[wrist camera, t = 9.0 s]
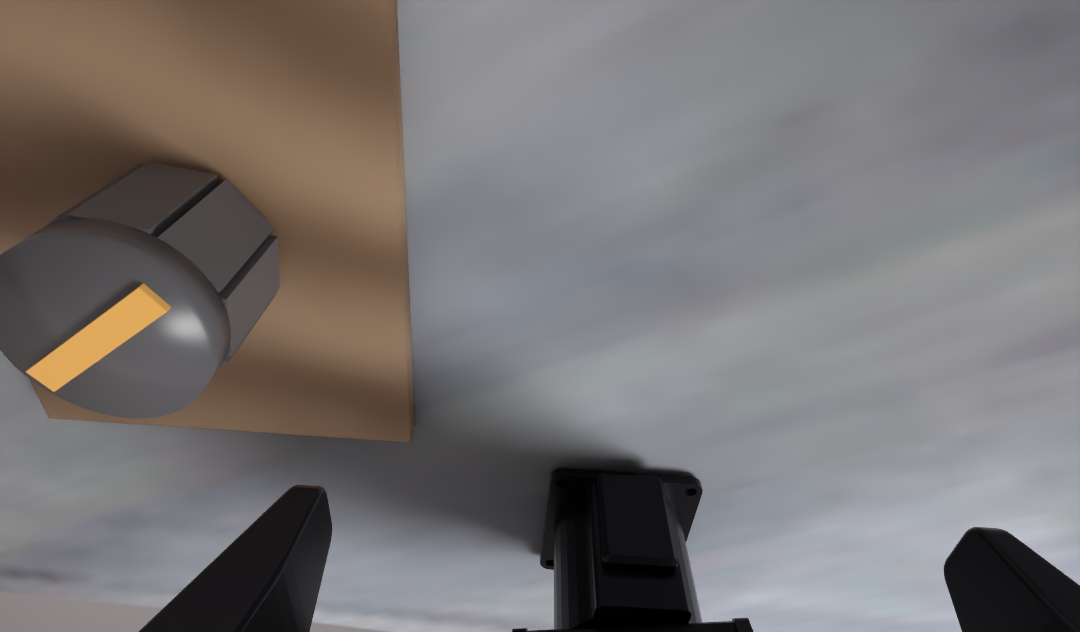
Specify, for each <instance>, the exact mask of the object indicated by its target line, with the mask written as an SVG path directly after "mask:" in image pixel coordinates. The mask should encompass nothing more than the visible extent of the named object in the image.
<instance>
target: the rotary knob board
mask: <svg viewBox="0 0 1080 632" xmlns="http://www.w3.org/2000/svg"><path fill="white" fill-rule="evenodd" d="M149 161H150V162H155V163H160V164H165V165H171V166H176V167H181V168H187V169H192V170H197V171H202V172H208V173H213V174H217V180H218V185H219V184H221V183H222V182H223V181H225V180H227V181H228V182H229V183H230V184H231V185H232V186H233V187H234V188H235V189H236V190H237V191H238V192H239V193H240V194H241V195H242V196H243V197H244V198H245V199H246V200H247V201H248V202H249V203H250V204H251V205H252V206H253V207H254V208H255V209H256V210H257V211H258V212H259V213H260V214H261V215H262V216H263V217H264V218H265V219H266V220H267V221H268V223H269V224H270V225H271V226H272V227H273V228H274V229H273V231H272V232H271V233H270V234H269V235H273V236H278V248H279V276H280V288H279V290H278V291H277V294H276V296H275V297H274V298H273V300H272V301H271V303H270V304H269V306H268V307H267V308H266V310H265V311H264V313H263V314H262V316H261V317H260V318H259V320H258V321H257V323H256V324H255V325H254V327H253V328H252V330H251V331H250V333H249V334H248V335H247V337H246V338H245V340H244V341H243V343H242V344H241V345H240V347H239V348H238V350H237V351H236V353H235V354H234V355H233V357H232V358H231V360H230V361H229V363H227V364H226V365H224V366H223V367H221V368H219V369H218V371H217V372H216V374H215V375H214V376H213V378H212V379H211V381H210V382H209V383H208V385H207V386H206V388H205V389H204V390H203V392H202V393H201V394H200V395H199V397H198V398H197V399H196V400H195V401H194V402H192V403H191V404H190V405H188V406H187V407H185V408H183V409H181V410H179V411H177V412H175V413H172V414H169V415H165V416H160V417H155V418H144V419H143V418H123V417H115V416H110V415H105V414H101V413H97V412H94V411H90V410H87V409H85V408H82V407H79V406H76V405H74V404H72V403H70V402H67V401H65V400H63V399H61V398H59V397H57V396H56V395H54V394H52V393H50V392H48V391H47V390H45V389H44V388H42V387H41V386H39V385H38V384H36V383H35V382H34V381H32V380H31V379H30V378H29V379H30V381H31V383H32V385H33V387H34V389H35V391H36V393H37V395H38V397H39V399H40V401H41V403H42V406H43V408H44V410H45V412H46V414H47V416H48V418H55V419H70V420H85V421H100V422H114V423H129V424H144V425H159V426H174V427H189V428H204V429H218V430H233V431H248V432H263V433H278V434H293V435H307V436H322V437H337V438H352V439H367V440H382V441H397V442H411V439H412V435H413V431H414V427H415V411H414V388H413V365H412V342H411V319H410V296H409V273H408V250H407V228H406V205H405V182H404V159H403V136H402V113H401V90H400V67H399V44H398V21H397V0H0V255H1V254H2V253H4V252H5V251H7V250H8V249H10V248H11V247H13V246H14V245H16V244H17V243H19V242H21V241H22V240H24V239H25V238H27V237H28V236H30V235H32V234H33V233H35V232H36V231H38V230H39V229H41V228H43V227H45V226H47V225H48V224H49V223H50V222H51V221H52V220H54V219H55V218H56V217H57V216H59V215H60V214H62V213H63V212H65V211H67V210H68V209H70V208H71V207H73V206H74V205H76V204H78V203H79V202H81V201H82V200H84V199H85V198H87V197H89V196H90V195H92V194H93V193H95V192H96V191H98V190H100V189H101V188H103V187H104V186H106V185H107V184H109V183H111V182H112V181H114V180H115V179H117V178H119V177H120V176H122V175H123V174H125V173H126V172H128V171H130V170H131V169H133V168H134V167H136V166H137V165H139V164H142V165H145V164H146V163H148V162H149Z"/></svg>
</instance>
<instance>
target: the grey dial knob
mask: <svg viewBox="0 0 1080 632" xmlns="http://www.w3.org/2000/svg"><path fill="white" fill-rule="evenodd" d="M273 229H274V228H273V227H272V226H271V225H270V224H269V223H268V221H267V220H266V219H265V218H264V217H263V216H262V215H261V214H260V213H259V212H258V211H257V210H256V209H255V208H254V207H253V206H252V205H251V204H250V203H249V202H248V201H247V200H246V199H245V198H244V197H243V196H242V195H241V194H240V193H239V192H238V191H237V190H236V189H235V188H234V187H233V186H232V185H231V184H230V183H229V182H228V181H227V180H225V181H223V182H222V183H221V184H219V185H218V180H217V174H213V173H208V172H202V171H197V170H192V169H187V168H181V167H176V166H171V165H165V164H160V163H155V162H150V161H149V162H148V163H146V164H145V165H142V164H139V165H137V166H136V167H134V168H133V169H131V170H130V171H128V172H126V173H125V174H123V175H122V176H120V177H119V178H117V179H115V180H114V181H112V182H111V183H109V184H107V185H106V186H104V187H103V188H101V189H100V190H98V191H96V192H95V193H93V194H92V195H90V196H89V197H87V198H85V199H84V200H82V201H81V202H79V203H78V204H76V205H74V206H73V207H71V208H70V209H68V210H67V211H65V212H63V213H62V214H60V215H59V216H57V217H56V218H55V219H54V220H52V221H51V222H50V223H49V224H48V225H47V226H45V227H43V228H41V229H39V230H38V231H36V232H35V233H33V234H32V235H30V236H28V237H27V238H25V239H24V240H22V241H21V242H19V243H17V244H16V245H14V246H13V247H11V248H10V249H8V250H7V251H5V252H4V253H2V254H1V255H0V350H1V351H2V352H3V354H4V355H5V356H6V357H7V358H8V359H9V360H10V361H11V362H12V364H13V365H14V366H16V367H17V368H18V369H19V370H20V371H21V372H22V373H23V374H24V375H26V376H27V377H28V378H30V379H31V380H32V381H34V382H35V383H36V384H38V385H39V386H41V387H42V388H44V389H45V390H47V391H48V392H50V393H52V394H54V395H56V396H57V397H59V398H61V399H63V400H65V401H67V402H70V403H72V404H74V405H76V406H79V407H82V408H85V409H87V410H90V411H94V412H97V413H101V414H105V415H110V416H115V417H123V418H143V419H144V418H155V417H160V416H165V415H169V414H172V413H175V412H177V411H179V410H181V409H183V408H185V407H187V406H188V405H190V404H191V403H192V402H194V401H195V400H196V399H197V398H198V397H199V395H200V394H201V393H202V392H203V390H204V389H205V388H206V386H207V385H208V383H209V382H210V381H211V379H212V378H213V376H214V375H215V374H216V372H217V371H218V369H219V368H221V367H223V366H224V365H226V364H227V363H229V361H230V360H231V358H232V357H233V355H234V354H235V353H236V351H237V350H238V348H239V347H240V345H241V344H242V343H243V341H244V340H245V338H246V337H247V335H248V334H249V333H250V331H251V330H252V328H253V327H254V325H255V324H256V323H257V321H258V320H259V318H260V317H261V316H262V314H263V313H264V311H265V310H266V308H267V307H268V306H269V304H270V303H271V301H272V300H273V298H274V297H275V296H276V294H277V291H278V290H279V288H280V276H279V248H278V236H273V235H269V234H270V233H271V232H272V231H273Z"/></svg>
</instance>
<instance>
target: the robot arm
mask: <svg viewBox="0 0 1080 632" xmlns="http://www.w3.org/2000/svg"><path fill="white" fill-rule="evenodd" d="M561 480H562V481H561ZM688 488H691V489H688ZM701 495H702V486H701V483H700V481H699V480H698V479H697V478H694V477H686V476H671V475H656V474H641V473H626V472H611V471H596V470H581V469H566V468H561V469H556V470H554V471H553V472H552V473H551V476H550V483H549V491H548V499H547V507H546V514H545V522H544V530H543V538H542V546H541V553H540V564H541V566H542V567H544V568H546V569H552V570H554V630H535V631H528V630H527V628H522V629H513V630H512V632H753V630H752V627H751V624H750V622H749V619H748V618H735V619H732V621H728V622H706V623H702V619H701V614H700V610H699V605H698V600H697V595H696V591H695V586H694V581H693V576H692V572H691V567H690V562H689V557H688V552H687V548H686V540H687V537H688V534H689V531H690V528H691V525H692V522H693V519H694V516H695V513H696V510H697V507H698V504H699V501H700V498H701ZM331 536H332V522H331V516H330V510H329V504H328V498H327V493H326V491H325V489H324V488H323V487H320V486H307V485H296V486H293V487H292V488H290V489H289V490H288V491H287V492H286V493H284V494H283V495H282V496H281V497H280V498H279V499H278V500H277V501H276V502H275V503H274V504H273V505H272V506H271V507H270V508H269V509H268V510H267V511H265V512H264V513H263V514H262V515H261V516H260V517H259V518H258V519H257V520H256V521H255V522H254V523H253V524H252V525H251V526H250V527H249V528H248V529H246V530H245V531H244V532H243V533H242V534H241V535H240V536H239V537H238V538H237V539H236V540H235V541H234V542H233V543H232V544H231V545H230V546H229V547H227V548H226V549H225V550H224V551H223V552H222V553H221V554H220V555H219V556H218V557H217V558H216V559H215V560H214V561H213V562H212V563H211V564H210V565H209V566H207V567H206V568H205V569H204V570H203V571H202V572H201V573H200V574H199V575H198V576H197V577H196V578H195V579H194V580H193V581H192V582H191V583H190V584H188V585H187V586H186V587H185V588H184V589H183V590H182V591H181V592H180V593H179V594H178V595H177V596H176V597H175V598H174V599H173V600H172V601H171V602H169V603H168V604H167V605H166V606H165V607H164V608H163V609H162V610H161V611H160V612H159V613H158V614H157V615H156V616H155V617H154V618H153V619H152V620H150V621H149V622H148V623H147V625H145V626H144V627H143V628H142V629H141V630H140V631H139V632H309V631H310V627H311V623H312V618H313V614H314V610H315V606H316V602H317V597H318V593H319V589H320V585H321V581H322V576H323V572H324V568H325V564H326V559H327V555H328V551H329V547H330V542H331ZM944 576H945V581H946V584H947V587H948V590H949V593H950V596H951V599H952V602H953V605H954V608H955V611H956V614H957V617H958V620H959V623H960V626H961V629H962V632H1080V585H1078V584H1077V583H1076V582H1074V581H1073V580H1072V579H1070V578H1069V577H1068V576H1066V575H1065V574H1064V573H1062V572H1061V571H1060V570H1058V569H1057V568H1056V567H1054V566H1053V565H1052V564H1050V563H1049V562H1048V561H1046V560H1045V559H1044V558H1042V557H1041V556H1040V555H1038V554H1037V553H1036V552H1034V551H1033V550H1032V549H1030V548H1029V547H1028V546H1026V545H1025V544H1024V543H1022V542H1021V541H1020V540H1018V539H1017V538H1016V537H1014V536H1013V535H1011V534H1010V533H1008V532H1007V531H1005V530H1002V529H997V528H983V527H973V528H971V529H969V530H968V531H967V532H966V533H965V534H964V535H963V537H962V538H961V540H960V541H959V543H958V544H957V545H956V547H955V548H954V550H953V551H952V552H951V554H950V555H949V557H948V558H947V560H946V561H945V565H944Z"/></svg>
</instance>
